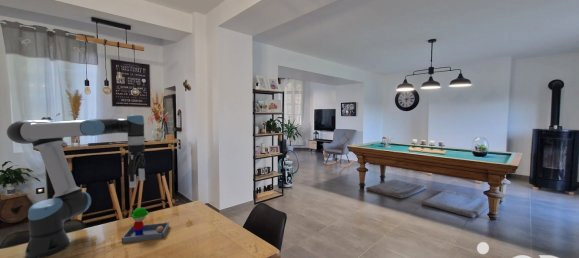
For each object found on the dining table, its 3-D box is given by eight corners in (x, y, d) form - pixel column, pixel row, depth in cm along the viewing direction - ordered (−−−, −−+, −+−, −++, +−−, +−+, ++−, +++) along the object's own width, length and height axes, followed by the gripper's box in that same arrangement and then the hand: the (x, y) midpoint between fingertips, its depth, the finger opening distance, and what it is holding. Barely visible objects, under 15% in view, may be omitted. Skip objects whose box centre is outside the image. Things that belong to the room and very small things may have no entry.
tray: (121, 244, 122) (121, 238, 122) (131, 231, 135) (131, 226, 135) (163, 238, 127) (163, 233, 127) (168, 227, 140) (168, 222, 140)
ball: (155, 234, 131) (155, 228, 130) (157, 231, 134) (157, 225, 134) (162, 233, 131) (162, 227, 131) (164, 230, 135) (164, 224, 135)
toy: (143, 238, 126) (142, 210, 125) (128, 238, 126) (127, 210, 125) (152, 231, 134) (151, 205, 133) (138, 231, 134) (137, 205, 133)
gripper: (136, 147, 116) (137, 190, 117) (151, 141, 140) (152, 177, 142) (118, 147, 114) (119, 191, 116) (136, 141, 138) (137, 177, 140)
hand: (137, 183), depth 129 cm, fingers open, 13 cm apart
